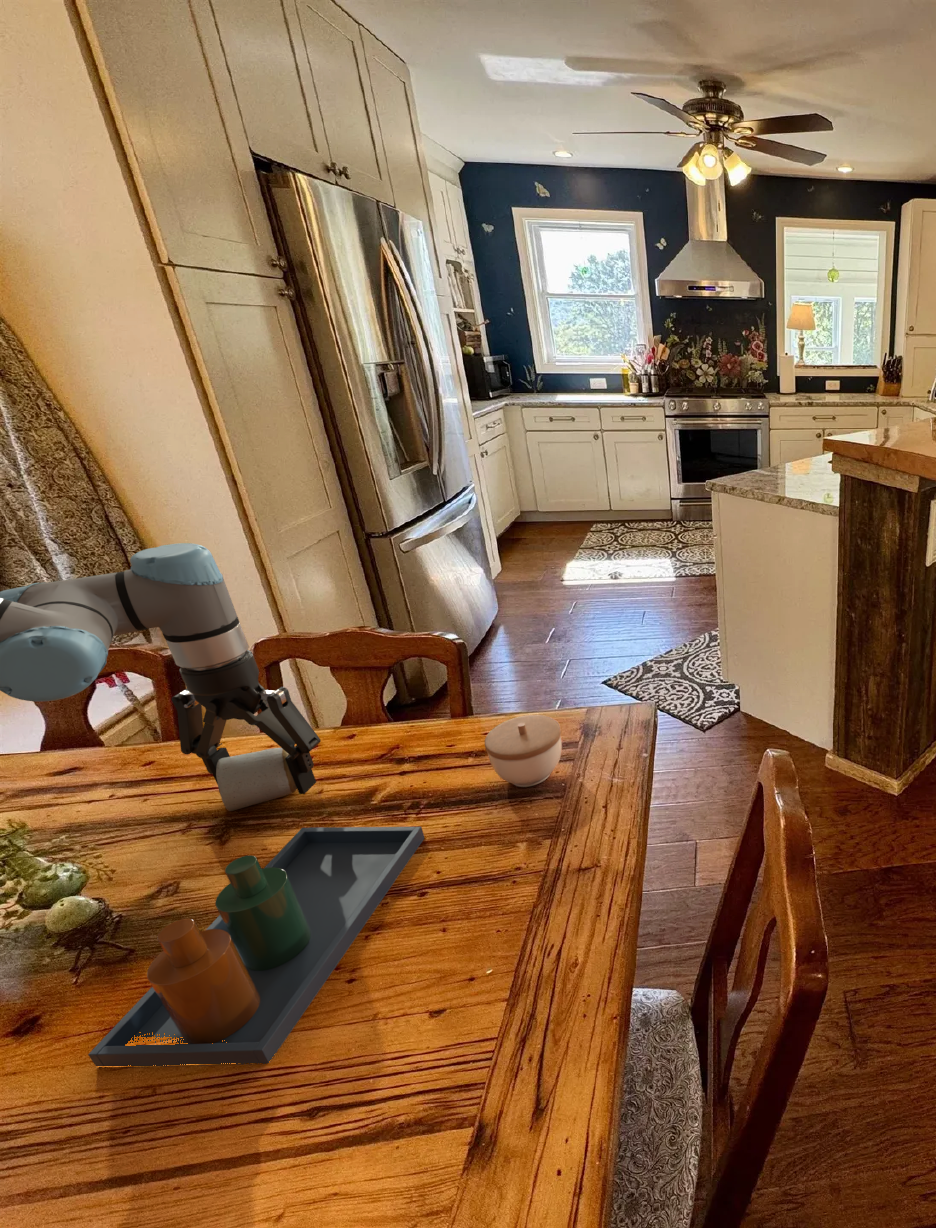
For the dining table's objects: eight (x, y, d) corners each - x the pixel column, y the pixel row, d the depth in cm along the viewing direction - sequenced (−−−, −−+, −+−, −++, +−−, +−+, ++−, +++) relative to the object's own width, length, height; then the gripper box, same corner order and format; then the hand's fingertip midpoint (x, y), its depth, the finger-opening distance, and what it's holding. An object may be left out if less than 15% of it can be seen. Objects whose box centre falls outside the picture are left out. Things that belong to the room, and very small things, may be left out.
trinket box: (579, 774, 103) (571, 724, 99) (511, 807, 96) (500, 755, 92) (547, 745, 110) (539, 697, 106) (482, 774, 102) (470, 724, 98)
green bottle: (230, 971, 70) (186, 887, 65) (270, 924, 76) (233, 843, 71) (287, 970, 71) (249, 886, 66) (323, 923, 76) (290, 842, 71)
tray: (99, 1072, 62) (87, 1055, 61) (307, 842, 88) (301, 827, 87) (270, 1067, 62) (261, 1050, 61) (425, 840, 89) (421, 826, 88)
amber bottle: (166, 1047, 63) (112, 959, 58) (215, 989, 69) (169, 904, 63) (230, 1045, 64) (182, 957, 58) (274, 987, 69) (233, 903, 64)
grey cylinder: (302, 800, 96) (286, 757, 93) (229, 822, 91) (210, 777, 88) (302, 763, 103) (287, 723, 100) (235, 782, 99) (217, 740, 96)
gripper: (320, 644, 91) (363, 771, 101) (151, 645, 90) (210, 773, 100) (283, 671, 85) (333, 804, 94) (99, 672, 84) (168, 807, 93)
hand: (270, 788), depth 97 cm, fingers closed on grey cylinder, 10 cm apart
